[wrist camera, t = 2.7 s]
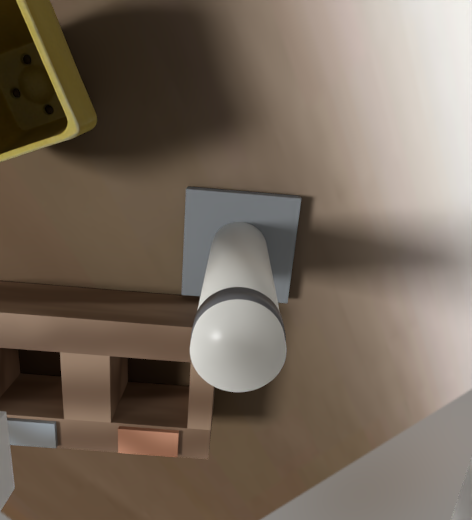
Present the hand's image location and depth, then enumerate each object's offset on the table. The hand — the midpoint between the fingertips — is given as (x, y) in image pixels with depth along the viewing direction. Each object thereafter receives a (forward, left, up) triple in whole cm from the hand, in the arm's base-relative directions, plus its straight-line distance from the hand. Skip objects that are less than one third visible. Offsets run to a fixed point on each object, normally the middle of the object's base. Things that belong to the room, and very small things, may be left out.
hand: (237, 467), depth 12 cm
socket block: (+10, -10, -21) cm, 25 cm away
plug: (0, 0, -20) cm, 20 cm away
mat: (0, 0, -21) cm, 21 cm away
